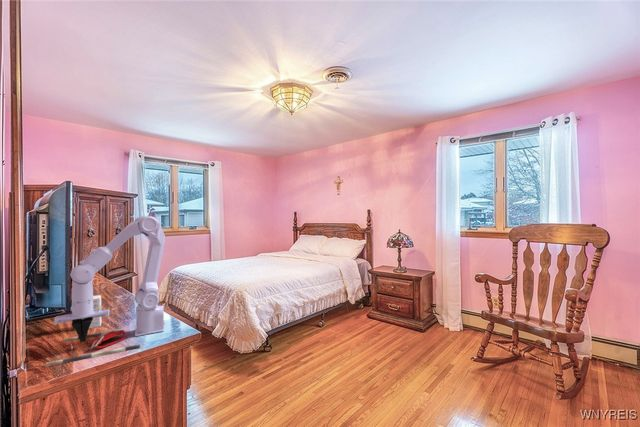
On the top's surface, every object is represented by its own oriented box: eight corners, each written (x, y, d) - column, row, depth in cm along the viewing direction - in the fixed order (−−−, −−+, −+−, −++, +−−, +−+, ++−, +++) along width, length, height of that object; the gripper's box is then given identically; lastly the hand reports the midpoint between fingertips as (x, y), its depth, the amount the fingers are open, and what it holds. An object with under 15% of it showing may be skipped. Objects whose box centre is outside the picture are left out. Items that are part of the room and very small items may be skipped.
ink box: (73, 331, 116) (72, 300, 116) (75, 327, 120) (75, 298, 120) (100, 326, 120) (100, 297, 120) (101, 322, 125) (101, 294, 125)
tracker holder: (90, 338, 107) (122, 325, 113) (94, 350, 106) (126, 336, 112) (87, 342, 97) (123, 327, 103) (92, 355, 97) (127, 339, 103)
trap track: (141, 327, 119) (141, 325, 119) (139, 347, 100) (139, 345, 100) (63, 340, 107) (63, 338, 107) (45, 366, 89) (45, 364, 89)
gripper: (110, 294, 108) (110, 332, 108) (58, 300, 101) (58, 341, 101) (107, 299, 102) (108, 339, 102) (52, 306, 95) (52, 349, 95)
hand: (83, 340), depth 101 cm, fingers closed
